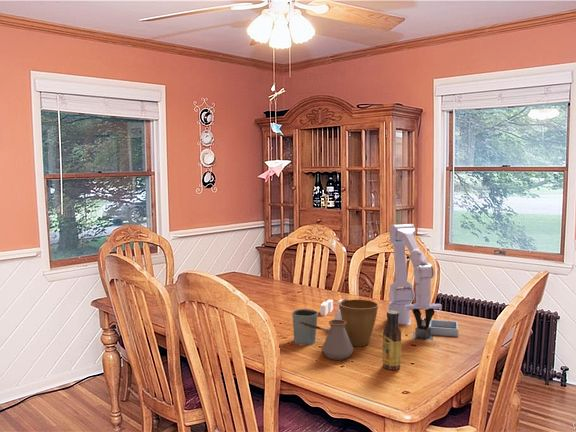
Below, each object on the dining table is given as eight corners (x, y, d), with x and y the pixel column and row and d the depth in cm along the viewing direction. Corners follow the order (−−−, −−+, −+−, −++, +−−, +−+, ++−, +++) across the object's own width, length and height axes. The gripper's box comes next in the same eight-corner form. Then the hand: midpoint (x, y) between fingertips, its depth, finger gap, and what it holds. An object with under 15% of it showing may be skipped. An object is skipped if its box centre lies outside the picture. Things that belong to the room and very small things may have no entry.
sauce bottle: (380, 364, 185) (380, 309, 184) (397, 363, 186) (398, 308, 184) (385, 371, 179) (385, 314, 177) (403, 370, 179) (403, 313, 178)
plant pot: (373, 351, 198) (373, 310, 197) (335, 347, 203) (335, 306, 202) (381, 339, 212) (381, 300, 211) (344, 335, 217) (344, 297, 216)
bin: (429, 335, 216) (429, 327, 215) (430, 327, 226) (430, 319, 226) (457, 337, 213) (458, 329, 212) (457, 329, 223) (457, 321, 223)
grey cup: (288, 339, 213) (288, 310, 212) (311, 336, 217) (310, 307, 216) (299, 347, 204) (298, 317, 203) (322, 343, 208) (322, 313, 207)
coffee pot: (343, 348, 202) (343, 310, 200) (359, 358, 191) (359, 318, 190) (292, 357, 193) (292, 317, 192) (306, 368, 183) (306, 326, 181)
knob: (415, 336, 213) (415, 319, 212) (419, 333, 216) (419, 316, 216) (426, 338, 210) (426, 321, 209) (430, 335, 214) (430, 318, 213)
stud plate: (412, 340, 211) (412, 332, 210) (413, 334, 218) (413, 326, 218) (432, 341, 208) (432, 334, 208) (433, 335, 216) (433, 328, 216)
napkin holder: (323, 318, 244) (323, 306, 243) (308, 313, 253) (308, 301, 252) (347, 313, 252) (347, 301, 252) (332, 308, 262) (332, 296, 261)
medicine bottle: (355, 326, 230) (355, 299, 229) (350, 330, 224) (350, 303, 223) (339, 324, 233) (339, 297, 232) (334, 328, 227) (334, 301, 226)
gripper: (408, 297, 207) (408, 330, 208) (444, 296, 208) (444, 329, 209) (403, 292, 214) (403, 325, 215) (438, 291, 215) (437, 324, 216)
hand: (422, 327), depth 213 cm, fingers closed on knob, 3 cm apart
